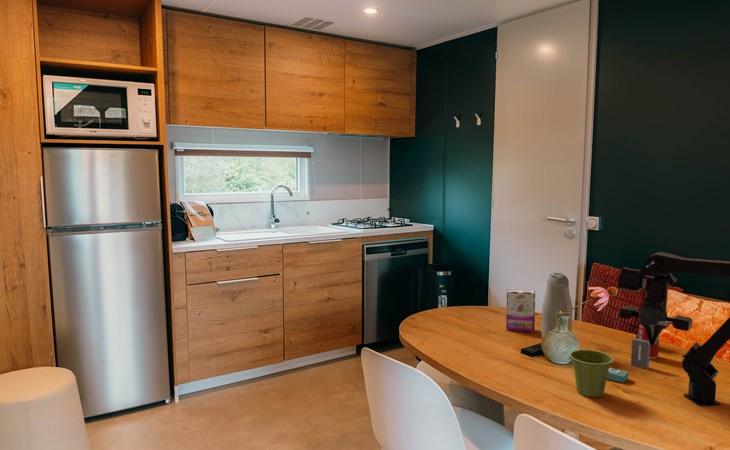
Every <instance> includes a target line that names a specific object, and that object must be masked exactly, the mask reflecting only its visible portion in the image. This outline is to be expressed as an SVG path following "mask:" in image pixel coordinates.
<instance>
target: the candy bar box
mask: <svg viewBox="0 0 730 450" xmlns="http://www.w3.org/2000/svg"><path fill="white" fill-rule="evenodd" d="M535 310H536V291H535V290H529V289H528V290H527V289H509V288H508V289H507V290H506V318H505V319H506V320H505V321H506V327H505V330H506V331H511V332H524V333H535V320H536V319H535V317H536V316H535V315H536V311H535Z"/></svg>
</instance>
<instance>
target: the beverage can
mask: <svg viewBox="0 0 730 450" xmlns="http://www.w3.org/2000/svg"><path fill="white" fill-rule="evenodd" d="M639 325H640V324H639ZM639 325H638V330H639V339H641V340H646V341H649V339H648V336H647V333H646V330H645V328H644V327H643V326H642V325H640V326H639ZM659 347H660V336H659V337H658V339H657V341H656V343H655V344H654V346H651V345H650V356H649V360H656V358H657V357H658V356H659V349H660V348H659Z"/></svg>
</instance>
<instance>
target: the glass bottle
mask: <svg viewBox="0 0 730 450" xmlns="http://www.w3.org/2000/svg"><path fill="white" fill-rule="evenodd" d="M569 282H570V281H569V278H568V277H567V276H566V275H565V274H564V273H562V272H552V273H550V274H549V275H548V276H547V279H546V288H545V293H544V296H543V300H542V304H541V337H542V339H543V336H544V335H545V334H546V333H548V332H549V331H552V330H553V329H555V327H556V315H555V312H557V311H561V312H570V317H569V318H568V330H569V331H570V332H571V333H572V326H573V325H572V324H573V301H572V298H571V295H570V283H569ZM571 309H572V310H571Z"/></svg>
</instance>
